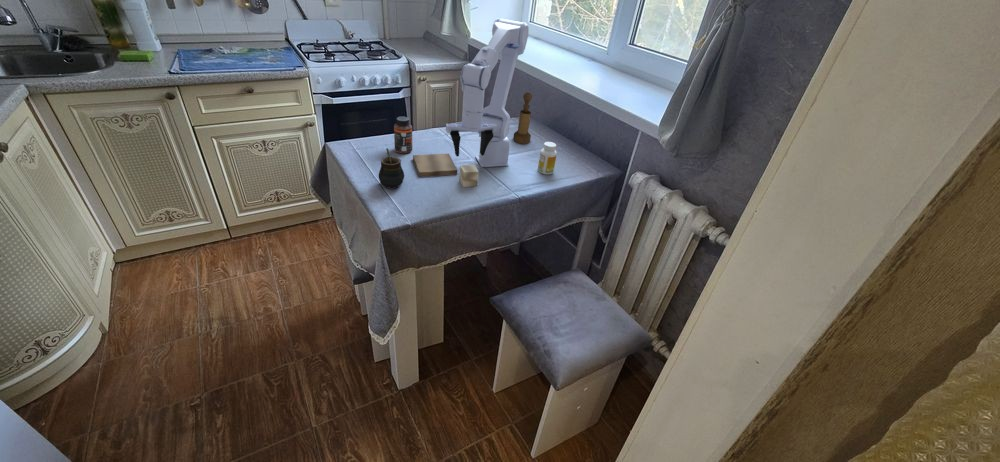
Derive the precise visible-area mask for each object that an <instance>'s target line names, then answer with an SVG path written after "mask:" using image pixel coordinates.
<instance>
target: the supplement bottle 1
mask: <svg viewBox="0 0 1000 462" xmlns="http://www.w3.org/2000/svg"><path fill="white" fill-rule="evenodd" d="M393 136H394V137H393V138H394V139H393V140H394V141H393V143H394V151H395V152H396V153H399V154H404V155H405V154H409V153H411V152H413V126H412V124H411V123H410V118H409V117H407V116H398V117H396V123H395V124H394V125H393Z"/></svg>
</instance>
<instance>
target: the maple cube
mask: <svg viewBox="0 0 1000 462" xmlns="http://www.w3.org/2000/svg"><path fill="white" fill-rule="evenodd" d="M459 181H460V184H461V186H462V187H463V188H468V187H478V183H479V182H478V181H479V170H478V169H477V166H476V165H475V164H467V165H466V164H464V165H463V164H462V165H460V166H459Z"/></svg>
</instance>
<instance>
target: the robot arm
mask: <svg viewBox="0 0 1000 462" xmlns="http://www.w3.org/2000/svg"><path fill="white" fill-rule="evenodd" d="M491 32H492V33H491V35H492V36H491V38H490V41H489V42H488V44H487V45H486V46H483V47H481V48H480V49H479V51H478V52H477V54H476V55H475V57H474V58H473V59H472V61H471V62H470V63H467V64H464V65H463V67H462V68H461V72H460V84H461V92H463V97H462V115H461V121H459V122H458V121H457V122H454V123H453V122H451V123H445V132H446V133H447V134H449V135H450V137H451V141H452V143H453V148H454V149H453V150H454V155H455V156H456V157H460V144H461V137H462V136H460V133H462V132H463V133H464V132H467V133H468V132H471V133H477V134H478V137H480V141H479V155H475V158H476V160H477V161H478V163H479V165H480V167H481V168H489V167H493V168H494V167H505V166H506V167H508V166H509V156H510V140H509V137H508V134H509V132H510V128H511V127H510V126H511V125H510V124H511V116H510V114H509V113H508V111H506V110H507V109H505V107H506V104H507V100H508V95H509V92H510V87H511V84H512V80H513V75H514V71H515V68H516V65H517V61H518V58H519V56H521V55H523V54H524V52H525V50H526V46H527V42H528V39H529V25H528V23H527V22H522V21H516V20H511V19H506V18H501V17H497V18H496V19H495V20H494V21H493V24H492V29H491ZM500 53H501V58H500V61H499V54H500ZM498 62H499V67H498V69H497V73H496V78H495V83H494V85H493V86H494V87H493V91H492V94H491V97H490V103H489V105H487V106H486V107H484V103H485V90H486V88H487V87H488V86H489V83H490V79H491V76H492V71H493V70H494V68H495V67H496V66H497V64H498Z"/></svg>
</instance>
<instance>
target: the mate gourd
mask: <svg viewBox="0 0 1000 462" xmlns="http://www.w3.org/2000/svg"><path fill="white" fill-rule="evenodd" d="M385 149H386V154H387V156H385V157H383V158H381V159H380V168H379V170H378V171H379V172H378V180H379V183H380V184H381V186H382V187H384V188H387V189H396V188H399V186H401V185H402V184H403V183H404V179H405V172H404V170H403V167H402V163H401V162H402V161H401V159H400V158H399V157H396V156H391V154H390V151H389V148H385Z"/></svg>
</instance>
